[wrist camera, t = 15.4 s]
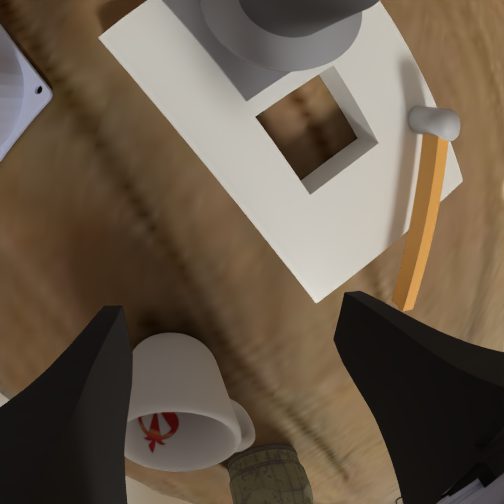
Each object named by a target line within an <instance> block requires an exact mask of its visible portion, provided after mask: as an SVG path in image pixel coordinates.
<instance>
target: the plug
mask: <svg viewBox="0 0 504 504" xmlns="http://www.w3.org/2000/svg"><path fill="white" fill-rule="evenodd" d="M378 2H379V0H200V6H201V11H202V14H203V17H204V20H205V22H206V24H207V26H208V28H209V29H210V31H211V32H212V34H213V35H214V36H215V38H216V39H217V40H218V41H219V42H220V43H221V44H222V45H223V46H224V47H225V48H227V49H228V50H229V51H230V52H232V53H233V54H235V55H236V56H238V57H239V58H241V59H243V60H245V61H247V62H249V63H251V64H254V65H256V66H259V67H262V68H266V69H270V70H276V71H290V72H294V71H304V70H308V69H313V68H316V67H320V66H322V65H325V64H328V63H330V62H332V61H334V60H336V59H337V58H338V57H340V56H341V55H343V54H344V53H345V52H346V51H347V50H348V49H349V48H350V46H351V45H352V44H353V42H354V41H355V39H356V37H357V35H358V33H359V30H360V27H361V22H362V11H364V10H366V9H369V8H370V7H372V6H374V5H375V4H376V3H378Z"/></svg>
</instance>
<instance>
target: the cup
mask: <svg viewBox="0 0 504 504" xmlns="http://www.w3.org/2000/svg"><path fill="white" fill-rule="evenodd" d="M132 353H133V374H132V389H131V396H130V403H129V411H128V419H127V427H126V436H125V451H124V456H125V457H127V458H128V459H130V460H131V461H133V462H135V463H137V464H140V465H142V466H145V467H148V468H152V469H157V470H163V471H179V472H182V471H193V470H199V469H204V468H207V467H211V466H214V465H216V464H218V463H221V462H222V461H224V460H226V459H227V458H229V457H230V456H231V455H232V454H233V453H235V452H241V451H243V450H245V449H247V448H249V447H250V446H251V445H252V444H253V443H254V440H255V429H254V426H253V423H252V421H251V419H250V417H249V415H248V413H247V412H246V410H245V409H244V408H243V407H242V406H241V405H240V404H238V403H237V402H236V401H234V400H232V399H229V396H228V393H227V390H226V388H225V385H224V382H223V379H222V376H221V373H220V370H219V367H218V365H217V362H216V360H215V358H214V356H213V354H212V353H211V352H210V350H209V349H208V348H207V347H206V346H205V345H204V344H203V343H202V342H200V341H199V340H197V339H195V338H193V337H191V336H188V335H185V334H180V333H161V334H156V335H153V336H151V337H148V338H147V339H145V340H143V341H142V342H141V343H140V344H138V345H137V347H136V348H135V349H134V350H133V352H132Z"/></svg>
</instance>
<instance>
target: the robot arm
mask: <svg viewBox="0 0 504 504" xmlns="http://www.w3.org/2000/svg"><path fill="white" fill-rule="evenodd" d="M40 86H42V92H41V93H40V94H38V92H37V91H38V88H39V87H40ZM52 95H53V94H52V90H51V89H50V87H49V86H48V85H47V84H46V82H45V81H44V80H43V79H42V77H41V76H40V75H39V74H38V72H37V71H36V70H35V69H34V67H33V66H32V65H31V63H30V62H29V61H28V60H27V58H26V57H25V56H24V54H23V53H22V52H21V51H20V49H19V48H18V47H17V45H16V44H15V43H14V41H13V40H12V39H11V37H10V36H9V35H8V33H7V32H6V31H5V29H4V28H3V27H2V25H1V24H0V162H1V161H2V159H3V158H4V156H5V155H6V154H7V152H8V151H9V150H10V148H11V147H12V146H13V144H14V143H15V142H16V140H17V139H18V138H19V137H20V135H21V134H22V133H23V132H24V130H25V129H26V128H27V127H28V125H29V124H30V123H31V122H32V121H33V120H34V118H35V117H36V116H37V115H38V114H39V113H40V111H41V110H42V109H43V108H44V107H45V106H46V105H47V104H48V103H49V102H50V100H51V99H52ZM334 342H335V345H336V347H337V350H338V352H339V355H340V357H341V359H342V362H343V364H344V366H345V367H346V369H347V371H348V372H349V374H350V376H351V378H352V379H353V381H354V383H355V384H356V386H357V388H358V389H359V391H360V393H361V394H362V396H363V398H364V400H365V401H366V403H367V405H368V406H369V408H370V410H371V412H372V414H373V416H374V417H375V419H376V422H377V424H378V426H379V429H380V431H381V434H382V436H383V438H384V441H385V444H386V446H387V449H388V452H389V454H390V457H391V460H392V463H393V467H394V470H395V473H396V477H397V480H398V484H399V488H400V492H401V497H402V501H403V504H504V352H500V351H495V350H491V349H487V348H484V347H481V346H477V345H474V344H471V343H468V342H465V341H462V340H459V339H457V338H454V337H452V336H449V335H447V334H444V333H442V332H440V331H438V330H436V329H434V328H431V327H429V326H427V325H425V324H423V323H421V322H419V321H417V320H415V319H413V318H412V317H410V316H408V315H406V314H404V313H402V312H400V311H399V310H397V309H395V308H393V307H391V306H389V305H388V304H386V303H384V302H382V301H380V300H378V299H376V298H374V297H372V296H370V295H368V294H366V293H364V292H361V291H354V292H345V293H344V298H343V302H342V306H341V311H340V315H339V319H338V323H337V327H336V331H335V335H334ZM132 374H133V353H132V349H131V344H130V340H129V335H128V330H127V325H126V320H125V314H124V309H123V306H104V307H103V308H102V309H101V310H100V311H99V312H98V313H97V315H96V316H95V317H94V318H93V319H92V320H91V322H90V323H89V324H88V325H87V326H86V328H85V329H84V330H83V331H82V332H81V333H80V335H79V336H78V337H77V338H76V339H75V340H74V341H73V343H72V344H71V345H70V346H69V347H68V348H67V349H66V350H65V351H64V352H63V353H62V354H61V355H60V357H59V358H58V359H57V360H56V361H55V362H54V363H53V364H52V365H51V366H50V367H49V368H48V369H47V370H46V371H45V372H44V373H43V374H42V375H40V376H39V377H38V378H37V379H36V380H35V381H34V382H32V383H31V384H30V385H29V386H28V387H27V388H25V389H24V390H23V391H21V392H20V393H19V394H17V395H16V396H15V397H13V398H12V399H11V400H9V401H8V402H7V403H6V404H4V405H3V406H2V407H0V504H127V495H126V483H125V458H124V451H125V436H126V427H127V419H128V411H129V403H130V396H131V389H132Z"/></svg>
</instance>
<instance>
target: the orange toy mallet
mask: <svg viewBox="0 0 504 504" xmlns="http://www.w3.org/2000/svg"><path fill="white" fill-rule="evenodd" d="M408 120H409V125H410V128H411V129H412V131H413V132H415V133H417V134H421V135H423V136H422V146H421V155H420V163H419V171H418V178H417V185H416V191H415V198H414V204H413V209H412V215H411V220H410V226H409V231H408V236H407V240H406V245H405V250H404V254H403V258H402V263H401V267H400V271H399V275H398V279H397V283H396V287H395V291H394V294H393V298H392V301H393V302H394V303H395V304H396V305H397V306H398V307H399V308H400V309H401V310H402V311H407V310H412V309H413V307H414V304H415V300H416V297H417V294H418V291H419V287H420V284H421V280H422V277H423V273H424V269H425V266H426V262H427V258H428V254H429V250H430V246H431V242H432V237H433V233H434V228H435V224H436V219H437V214H438V209H439V203H440V198H441V192H442V186H443V180H444V173H445V166H446V159H447V151H448V142H449V141H453V140H455V139H456V138H457V137H458V135H459V132H460V120H459V117H458V115H457V113H456V112H455V111H453V110H451V109H444V108H435V107H426V106H415V107H413V108H412V109H411V111H410V113H409V117H408Z"/></svg>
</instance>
